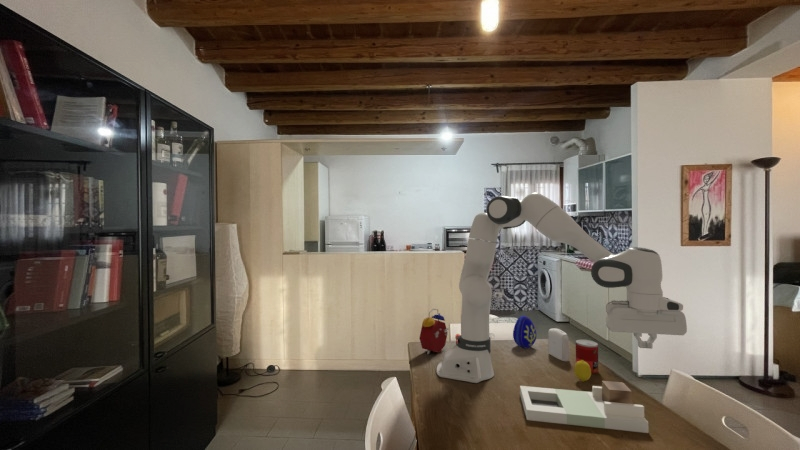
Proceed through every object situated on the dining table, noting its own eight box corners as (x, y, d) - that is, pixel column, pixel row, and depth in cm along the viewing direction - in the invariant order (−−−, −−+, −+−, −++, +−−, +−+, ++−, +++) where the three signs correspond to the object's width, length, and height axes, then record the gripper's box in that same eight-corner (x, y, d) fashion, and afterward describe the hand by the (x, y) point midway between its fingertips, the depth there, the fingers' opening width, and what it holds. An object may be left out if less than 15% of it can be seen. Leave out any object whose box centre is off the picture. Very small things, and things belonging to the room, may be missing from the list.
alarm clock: (436, 345, 167) (436, 304, 167) (452, 349, 161) (451, 307, 161) (419, 354, 155) (418, 310, 155) (435, 358, 150) (434, 313, 150)
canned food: (598, 375, 131) (597, 347, 132) (575, 371, 136) (574, 343, 136) (598, 368, 138) (598, 341, 138) (576, 364, 142) (576, 338, 142)
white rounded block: (546, 353, 155) (546, 326, 155) (555, 352, 156) (554, 325, 156) (562, 362, 145) (561, 333, 145) (571, 361, 146) (570, 332, 146)
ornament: (523, 352, 157) (523, 319, 157) (508, 346, 165) (508, 315, 165) (539, 347, 162) (539, 316, 163) (524, 342, 170) (524, 312, 171)
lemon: (593, 385, 123) (593, 363, 123) (576, 384, 124) (576, 362, 124) (588, 379, 128) (587, 357, 128) (572, 377, 129) (572, 356, 130)
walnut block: (609, 409, 101) (609, 389, 101) (602, 399, 107) (601, 380, 107) (632, 411, 100) (631, 391, 100) (623, 401, 105) (623, 382, 105)
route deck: (526, 419, 101) (526, 399, 101) (520, 394, 117) (519, 376, 117) (648, 433, 94) (648, 411, 94) (623, 404, 110) (623, 385, 110)
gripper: (610, 302, 101) (610, 348, 101) (689, 305, 97) (690, 353, 96) (602, 298, 107) (603, 342, 107) (676, 300, 103) (677, 346, 103)
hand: (645, 347), depth 102 cm, fingers closed
